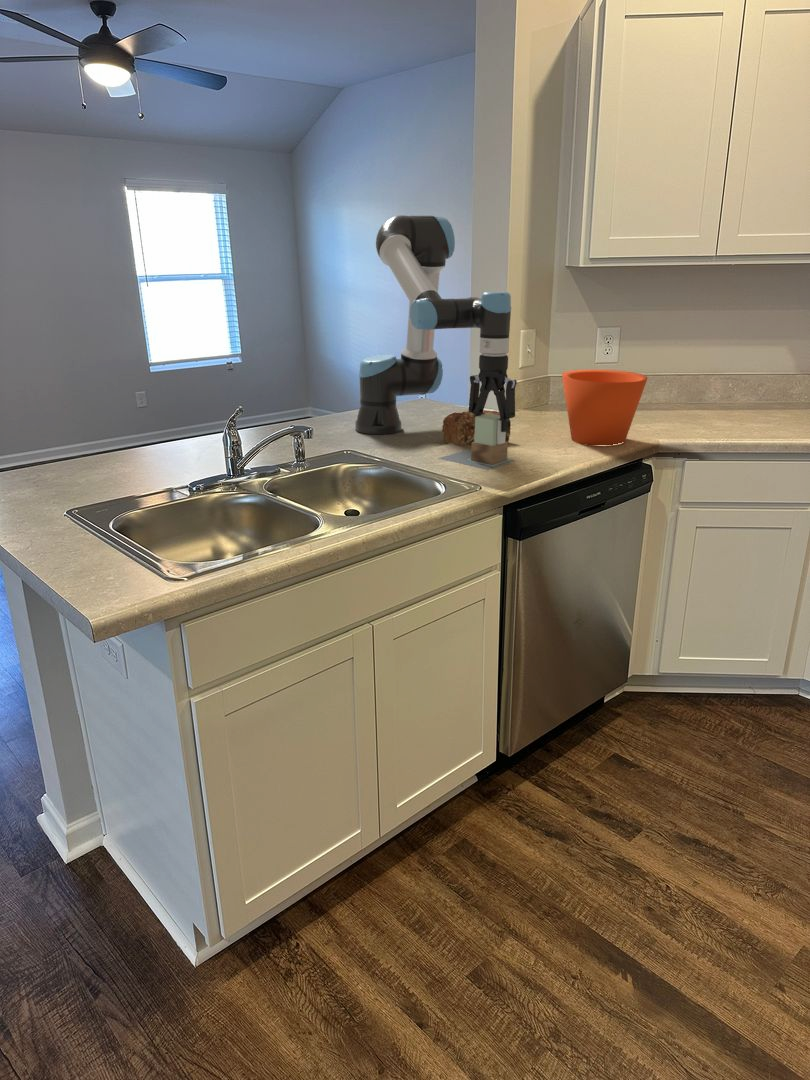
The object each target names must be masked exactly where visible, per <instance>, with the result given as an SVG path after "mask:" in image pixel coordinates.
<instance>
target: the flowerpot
mask: <svg viewBox="0 0 810 1080" xmlns="http://www.w3.org/2000/svg"><path fill="white" fill-rule="evenodd" d="M561 376H562V383H563V390H564V397H565V404H566V410H567V418H568V425H569V432H570V438H571V441H573V442H574V443H576V444H579V443H580V445H583V444H587V445H586V446H589V445H613V444H618V443H622V442H624V441H625V442H626V440H627V437H628V434H629V431H630V429H631V426H632V423H633V421H634V417H635V414H636V412H637V409H638V406H639V404H640V401H641V399H642V398H641V397H642V395H643V393H644V390H645V387H646V384H647V381H648V375H645V374H643V373H637V372H633V371H626V370H625V371H624V370H616V369H615V370H614V369H575V370H568V371H564V372H563V373H561Z"/></svg>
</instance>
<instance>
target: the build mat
mask: <svg viewBox="0 0 810 1080" xmlns="http://www.w3.org/2000/svg"><path fill="white" fill-rule="evenodd" d="M437 459H438V460H443V461H447V462H448V461H449V462H451V463H457V464H461V465H464V466H470V467H474V468H477V469H481V470H482V469H483V470H487V471H489V470H492V469H494V468H498V467H501V466H504V465H506V464H510V463H513V462H515V461H517V460H516V459H512V458H508V457H507V460H505V461H502V462H499V463H496V464H493V465H490V464H485V463H481V462H476V461H472V460H471V449H465V450H460V451H459V452H455V453H451V454H448V455H447V454H446V455H444V456H441V457H438V458H437Z"/></svg>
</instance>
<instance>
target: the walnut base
mask: <svg viewBox="0 0 810 1080" xmlns="http://www.w3.org/2000/svg"><path fill="white" fill-rule="evenodd" d="M508 444H509V441H508V442H505V443H503V444H498V445H495V446H489V445H484V444H479V443H474V442H472V444H471V449H470V450H471V460H472V461H476V462H481V463H485V464H490V465H493V464H496V463H499V462H502V461H505V460H507V458H508V449H509V447H508V446H509V445H508Z"/></svg>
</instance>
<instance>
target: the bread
mask: <svg viewBox="0 0 810 1080" xmlns="http://www.w3.org/2000/svg"><path fill="white" fill-rule="evenodd" d="M483 413H484V414H481V415H485V414H494V415H500V414H499V411H497V410H485V409H484V410H483ZM510 419H511V418H510ZM510 419H509V420H508V430H507V432H506V438H505V442H508V443H509V441H510V436H511V426H512V425H511V423H512V422H511V420H510ZM474 420H475V416H474V414H473V413H470V412H469V411H461V412H452V413H450V414H448V415H447V416H446V417H444V419H443V420H442V424H443V425H442V429H441V430H442V436H443V437H442V439H443V442H444V443H445V444H446V445H449V444H453V445H456V446H464V445H465V446H467V445H472V442H474V436H475V426H474V422H475V421H474Z"/></svg>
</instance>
